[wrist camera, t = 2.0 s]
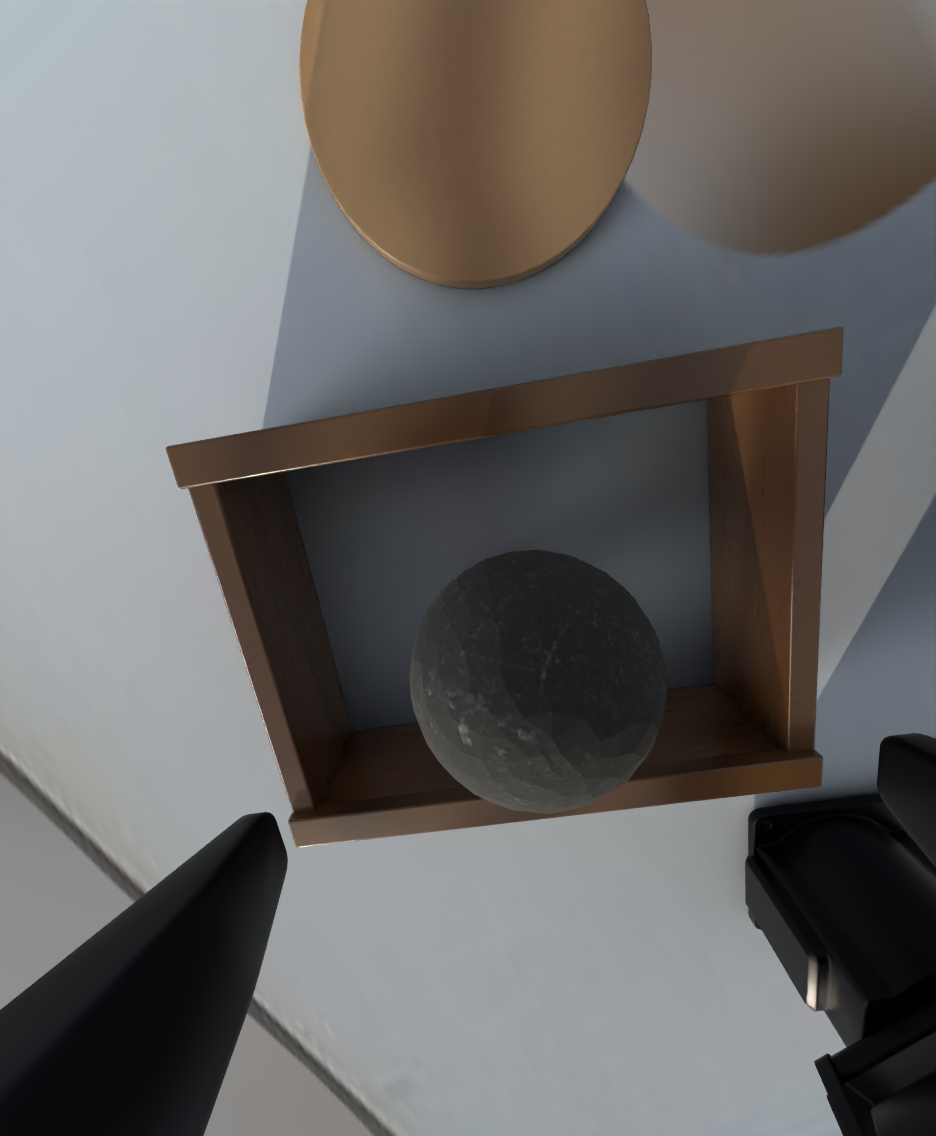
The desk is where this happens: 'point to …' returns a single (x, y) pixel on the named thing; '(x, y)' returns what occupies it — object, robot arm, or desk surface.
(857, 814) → the robot arm
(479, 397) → the wooden cubby shelf
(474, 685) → the light bulb
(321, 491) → the desk surface
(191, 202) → the desk surface
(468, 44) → the coaster
